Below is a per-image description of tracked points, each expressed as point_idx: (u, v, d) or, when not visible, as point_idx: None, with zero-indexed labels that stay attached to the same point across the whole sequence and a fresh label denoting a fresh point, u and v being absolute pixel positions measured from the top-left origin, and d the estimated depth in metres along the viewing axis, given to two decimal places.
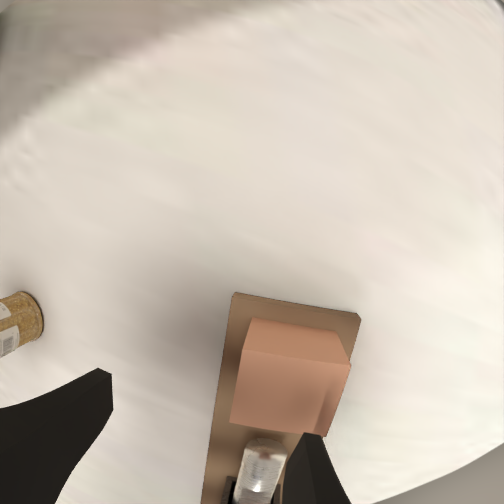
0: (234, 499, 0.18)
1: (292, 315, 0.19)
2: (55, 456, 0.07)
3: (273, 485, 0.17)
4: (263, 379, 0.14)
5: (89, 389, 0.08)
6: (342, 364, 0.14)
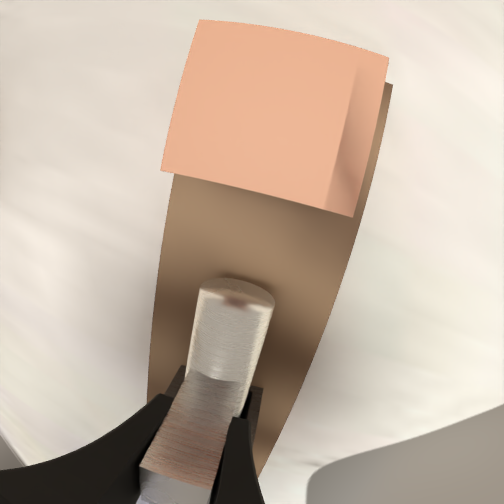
0: None
1: None
2: (128, 493, 0.06)
3: (246, 370, 0.11)
4: (229, 68, 0.07)
5: (160, 419, 0.08)
6: (373, 52, 0.07)
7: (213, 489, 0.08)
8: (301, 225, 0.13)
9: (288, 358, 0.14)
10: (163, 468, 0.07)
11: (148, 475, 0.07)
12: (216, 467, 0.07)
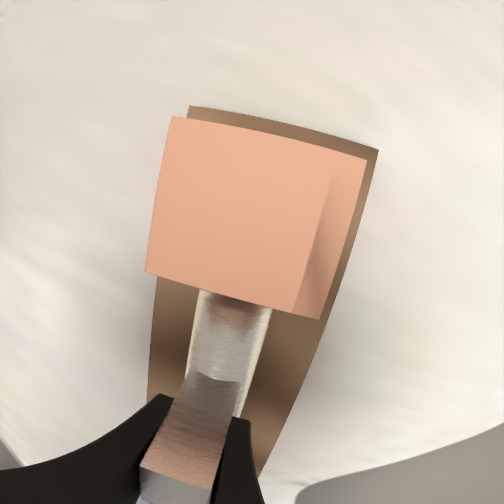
0: None
1: (274, 132, 0.12)
2: (127, 493, 0.06)
3: (246, 370, 0.11)
4: (202, 176, 0.08)
5: (160, 419, 0.08)
6: (350, 155, 0.07)
7: (213, 489, 0.08)
8: None
9: (272, 401, 0.15)
10: (163, 468, 0.07)
11: (148, 475, 0.07)
12: (216, 467, 0.07)
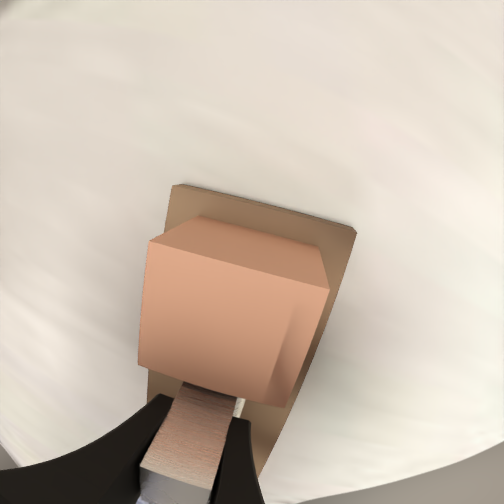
0: None
1: (254, 216, 0.13)
2: (128, 493, 0.06)
3: None
4: (180, 298, 0.09)
5: (160, 419, 0.08)
6: (314, 285, 0.08)
7: (213, 489, 0.08)
8: None
9: (256, 440, 0.16)
10: (163, 468, 0.07)
11: (148, 475, 0.07)
12: (216, 467, 0.07)
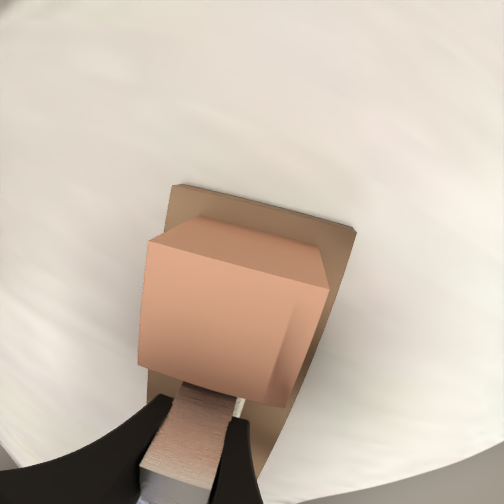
0: None
1: (254, 216, 0.13)
2: (128, 493, 0.06)
3: None
4: (180, 298, 0.09)
5: (160, 419, 0.08)
6: (314, 285, 0.08)
7: (212, 489, 0.08)
8: None
9: (256, 440, 0.16)
10: (163, 468, 0.07)
11: (148, 475, 0.07)
12: (216, 467, 0.07)
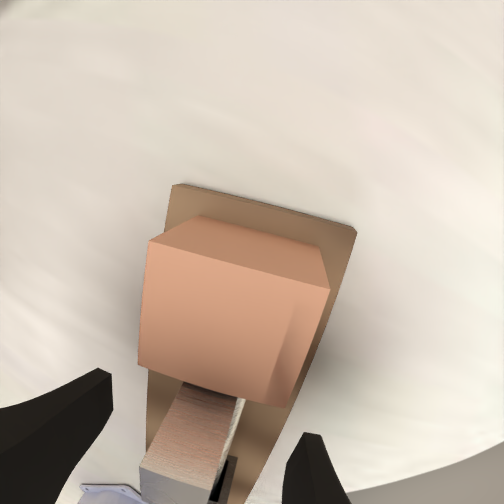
0: None
1: (254, 216, 0.13)
2: (55, 456, 0.07)
3: None
4: (180, 298, 0.09)
5: (89, 388, 0.08)
6: (315, 285, 0.08)
7: None
8: None
9: (256, 440, 0.16)
10: (163, 468, 0.07)
11: (148, 475, 0.07)
12: (216, 467, 0.07)
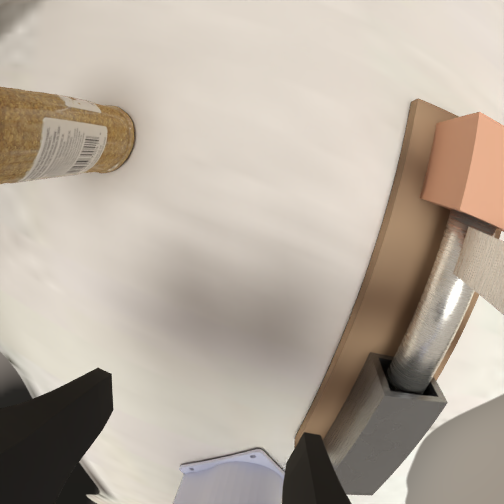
0: (443, 269, 0.14)
1: None
2: (55, 456, 0.07)
3: None
4: (495, 153, 0.10)
5: (89, 389, 0.08)
6: None
7: None
8: None
9: None
10: None
11: None
12: None
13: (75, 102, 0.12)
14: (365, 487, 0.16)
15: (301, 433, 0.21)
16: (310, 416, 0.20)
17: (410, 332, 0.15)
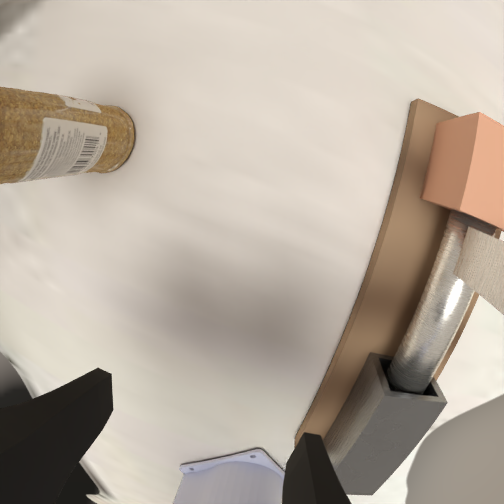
0: (443, 269, 0.14)
1: None
2: (55, 456, 0.07)
3: None
4: (495, 153, 0.10)
5: (89, 389, 0.08)
6: None
7: None
8: None
9: None
10: None
11: None
12: None
13: (75, 102, 0.12)
14: (365, 487, 0.16)
15: (301, 433, 0.21)
16: (310, 416, 0.20)
17: (410, 332, 0.15)
